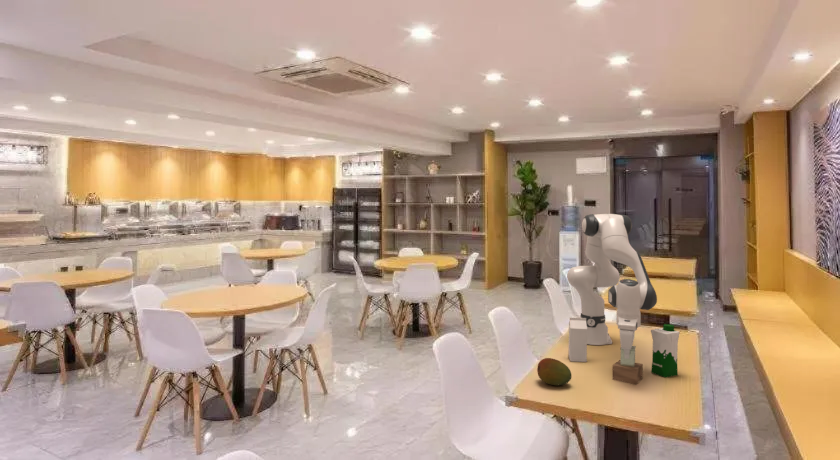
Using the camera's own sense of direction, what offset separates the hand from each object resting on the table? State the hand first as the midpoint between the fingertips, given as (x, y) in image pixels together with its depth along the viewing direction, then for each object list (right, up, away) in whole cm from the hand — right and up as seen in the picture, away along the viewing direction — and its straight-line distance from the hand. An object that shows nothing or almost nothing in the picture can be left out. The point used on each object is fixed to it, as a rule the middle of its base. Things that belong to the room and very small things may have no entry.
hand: (627, 355), depth 194 cm
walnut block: (0, -10, 0) cm, 10 cm away
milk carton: (-12, -9, +25) cm, 30 cm away
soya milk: (+17, -10, +6) cm, 21 cm away
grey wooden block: (0, -4, 0) cm, 4 cm away
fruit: (-31, -10, -5) cm, 33 cm away
